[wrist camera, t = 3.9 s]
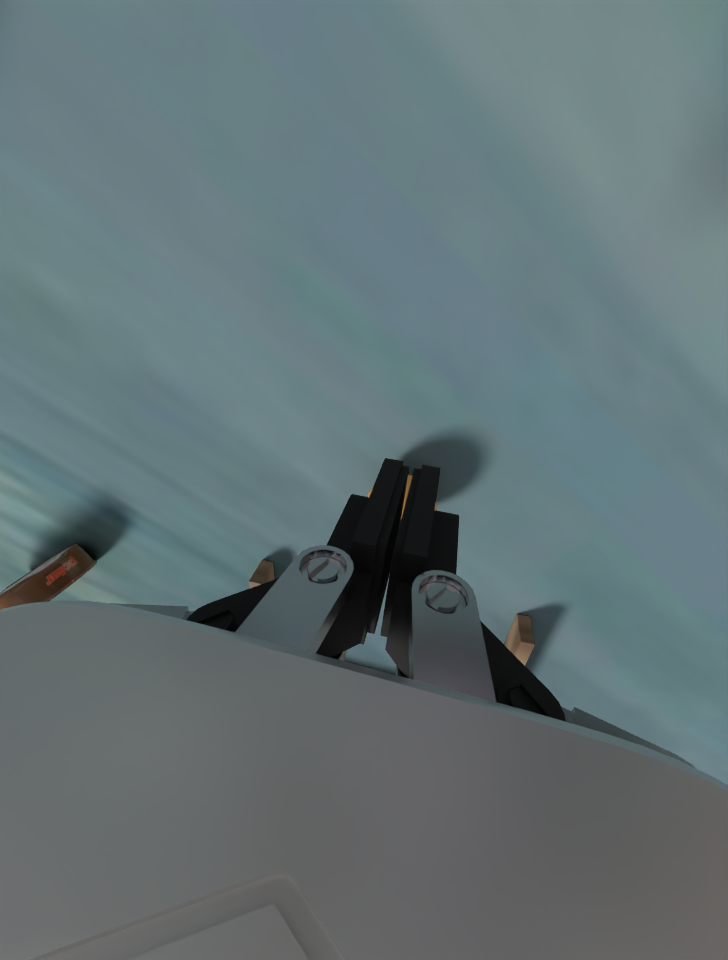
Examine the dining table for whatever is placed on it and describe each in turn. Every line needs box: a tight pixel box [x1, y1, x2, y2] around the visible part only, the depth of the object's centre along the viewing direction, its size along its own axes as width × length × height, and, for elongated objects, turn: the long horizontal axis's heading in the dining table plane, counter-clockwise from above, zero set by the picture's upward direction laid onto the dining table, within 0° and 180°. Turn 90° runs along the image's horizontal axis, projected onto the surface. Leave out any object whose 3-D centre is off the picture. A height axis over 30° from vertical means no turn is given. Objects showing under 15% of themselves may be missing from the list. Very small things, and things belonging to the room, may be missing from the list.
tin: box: [0, 544, 97, 610], centre depth 37 cm, size 15×3×8 cm, turn 124°
